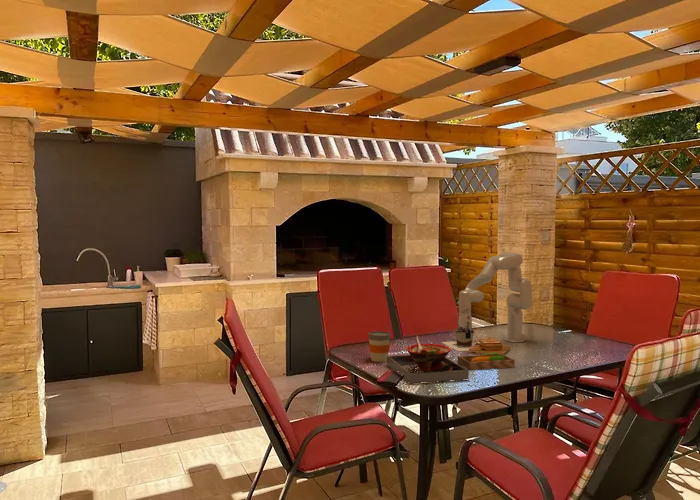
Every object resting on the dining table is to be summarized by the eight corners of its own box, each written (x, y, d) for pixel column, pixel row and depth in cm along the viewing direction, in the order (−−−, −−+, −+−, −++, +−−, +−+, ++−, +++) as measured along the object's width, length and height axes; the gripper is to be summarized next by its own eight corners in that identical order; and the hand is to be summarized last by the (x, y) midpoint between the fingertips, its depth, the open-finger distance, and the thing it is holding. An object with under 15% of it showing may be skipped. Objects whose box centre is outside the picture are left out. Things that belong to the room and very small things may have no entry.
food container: (471, 343, 345) (472, 328, 345) (474, 345, 339) (474, 330, 339) (452, 343, 345) (452, 328, 345) (454, 345, 339) (455, 330, 338)
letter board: (469, 341, 355) (469, 340, 355) (487, 349, 332) (487, 348, 332) (441, 342, 350) (441, 341, 350) (458, 351, 327) (458, 350, 327)
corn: (507, 353, 293) (474, 355, 288) (508, 367, 293) (474, 369, 287) (500, 350, 300) (468, 352, 295) (500, 364, 300) (468, 366, 295)
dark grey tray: (439, 362, 301) (439, 353, 301) (468, 380, 268) (468, 370, 267) (386, 365, 294) (387, 356, 293) (410, 384, 260) (410, 374, 260)
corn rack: (500, 360, 306) (501, 353, 306) (514, 367, 293) (514, 360, 293) (457, 363, 299) (457, 356, 299) (469, 370, 286) (469, 362, 286)
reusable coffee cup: (375, 363, 297) (375, 336, 296) (364, 358, 308) (364, 332, 307) (394, 361, 303) (394, 334, 302) (382, 355, 314) (383, 330, 313)
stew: (400, 363, 298) (401, 335, 297) (442, 362, 301) (443, 334, 300) (412, 378, 270) (413, 346, 269) (458, 377, 273) (459, 346, 272)
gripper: (476, 312, 332) (476, 339, 333) (464, 307, 349) (463, 333, 350) (465, 312, 330) (465, 340, 331) (453, 308, 347) (453, 334, 348)
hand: (464, 336), depth 341 cm, fingers open, 9 cm apart
